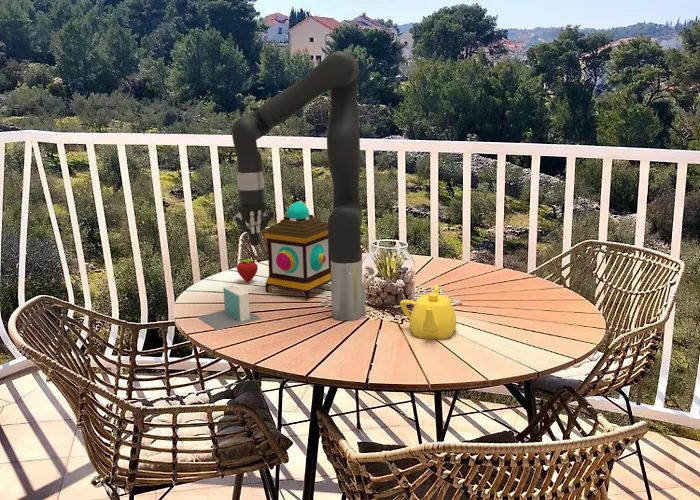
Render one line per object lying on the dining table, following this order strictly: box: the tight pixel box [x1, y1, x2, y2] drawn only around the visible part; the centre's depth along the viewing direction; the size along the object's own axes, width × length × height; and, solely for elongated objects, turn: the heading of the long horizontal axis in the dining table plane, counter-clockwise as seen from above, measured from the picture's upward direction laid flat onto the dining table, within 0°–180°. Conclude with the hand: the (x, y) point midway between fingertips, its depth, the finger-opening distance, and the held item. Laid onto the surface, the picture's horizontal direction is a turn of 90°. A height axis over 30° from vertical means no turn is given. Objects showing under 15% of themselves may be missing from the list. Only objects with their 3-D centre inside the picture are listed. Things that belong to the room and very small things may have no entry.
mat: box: [196, 309, 263, 331], centre depth 195 cm, size 14×14×1 cm
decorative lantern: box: [263, 201, 331, 301], centre depth 218 cm, size 20×20×30 cm
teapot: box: [399, 284, 457, 340], centre depth 182 cm, size 22×16×11 cm
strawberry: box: [236, 258, 259, 284], centre depth 229 cm, size 6×8×10 cm
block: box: [223, 285, 251, 321], centre depth 196 cm, size 3×10×8 cm, turn 37°
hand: (254, 245), depth 196 cm, fingers closed
